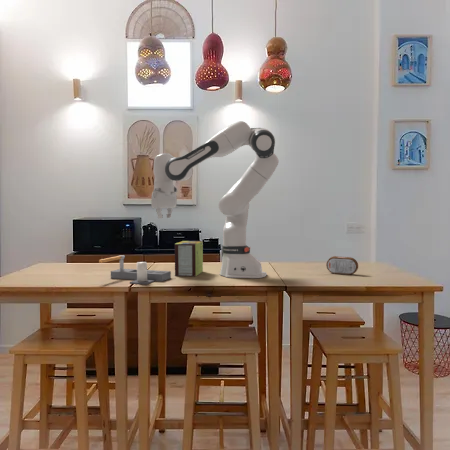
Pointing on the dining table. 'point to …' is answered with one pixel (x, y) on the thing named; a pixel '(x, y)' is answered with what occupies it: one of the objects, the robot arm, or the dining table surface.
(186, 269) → the protein box
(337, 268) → the tin
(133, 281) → the mat
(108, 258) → the clip
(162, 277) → the grey base with peg
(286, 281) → the dining table surface
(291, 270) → the dining table surface
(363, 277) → the dining table surface
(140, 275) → the plug
